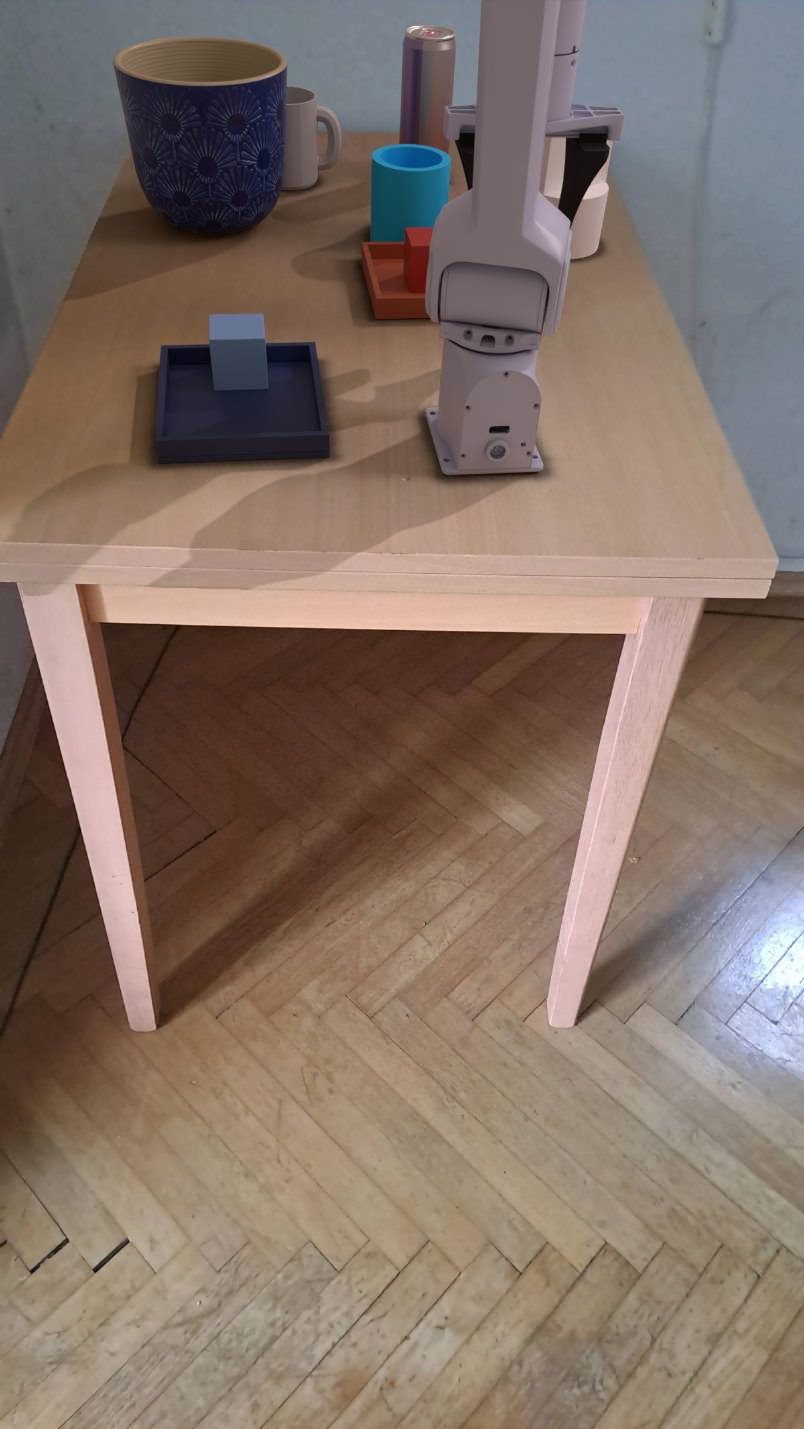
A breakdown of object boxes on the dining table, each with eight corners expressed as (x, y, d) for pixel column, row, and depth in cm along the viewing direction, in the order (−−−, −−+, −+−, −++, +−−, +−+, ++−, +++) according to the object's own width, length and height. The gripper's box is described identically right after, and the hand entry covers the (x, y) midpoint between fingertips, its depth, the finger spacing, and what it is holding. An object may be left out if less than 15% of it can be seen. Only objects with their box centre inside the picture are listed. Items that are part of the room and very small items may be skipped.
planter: (299, 195, 115) (294, 40, 104) (285, 255, 103) (278, 87, 92) (152, 188, 114) (131, 31, 103) (122, 247, 103) (95, 78, 92)
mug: (442, 257, 104) (448, 174, 98) (365, 251, 105) (367, 167, 99) (449, 215, 113) (455, 135, 107) (378, 209, 113) (380, 129, 107)
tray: (501, 316, 95) (503, 296, 94) (375, 319, 94) (376, 298, 92) (476, 260, 104) (477, 240, 103) (361, 261, 103) (361, 241, 101)
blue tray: (329, 457, 77) (329, 434, 76) (157, 463, 76) (154, 440, 74) (315, 363, 88) (315, 341, 86) (163, 366, 86) (160, 344, 85)
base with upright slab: (563, 221, 113) (581, 101, 104) (615, 249, 108) (639, 127, 99) (499, 235, 109) (513, 112, 101) (550, 265, 104) (569, 139, 95)
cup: (259, 168, 120) (254, 84, 114) (341, 171, 121) (341, 87, 114) (255, 190, 115) (250, 103, 109) (341, 193, 116) (341, 106, 109)
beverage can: (391, 181, 119) (396, 34, 108) (406, 166, 123) (412, 22, 112) (439, 189, 118) (449, 40, 107) (452, 173, 122) (462, 28, 111)
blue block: (268, 389, 83) (265, 338, 80) (214, 391, 83) (208, 339, 79) (266, 363, 86) (263, 313, 83) (214, 365, 86) (208, 314, 82)
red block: (454, 292, 98) (458, 245, 94) (409, 293, 97) (411, 245, 94) (446, 273, 101) (450, 226, 97) (402, 273, 100) (404, 227, 97)
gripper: (618, 34, 80) (588, 211, 90) (442, 31, 78) (431, 212, 88) (644, 58, 75) (609, 242, 85) (457, 55, 73) (444, 244, 83)
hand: (520, 229), depth 86 cm, fingers open, 7 cm apart
